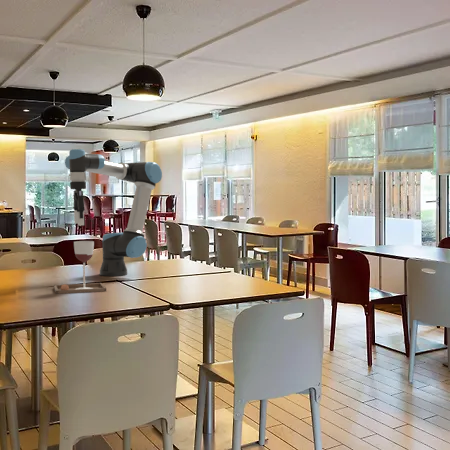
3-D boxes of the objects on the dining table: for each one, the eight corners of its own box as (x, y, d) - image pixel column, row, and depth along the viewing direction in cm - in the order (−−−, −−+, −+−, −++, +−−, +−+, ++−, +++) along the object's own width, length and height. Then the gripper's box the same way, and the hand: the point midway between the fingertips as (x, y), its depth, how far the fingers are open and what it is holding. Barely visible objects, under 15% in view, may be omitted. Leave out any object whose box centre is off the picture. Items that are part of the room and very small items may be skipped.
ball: (68, 291, 261) (68, 283, 261) (69, 292, 258) (68, 284, 258) (60, 291, 260) (60, 283, 260) (60, 292, 257) (60, 285, 257)
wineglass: (98, 287, 270) (97, 241, 269) (86, 291, 261) (86, 242, 260) (81, 286, 273) (81, 240, 272) (70, 289, 264) (69, 242, 263)
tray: (101, 287, 276) (101, 282, 276) (106, 293, 261) (106, 288, 261) (54, 289, 269) (54, 285, 269) (56, 295, 254) (55, 290, 254)
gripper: (67, 181, 292) (68, 222, 293) (73, 181, 268) (74, 226, 270) (82, 181, 294) (83, 222, 296) (89, 180, 271) (91, 225, 273)
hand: (79, 224), depth 283 cm, fingers open, 13 cm apart
